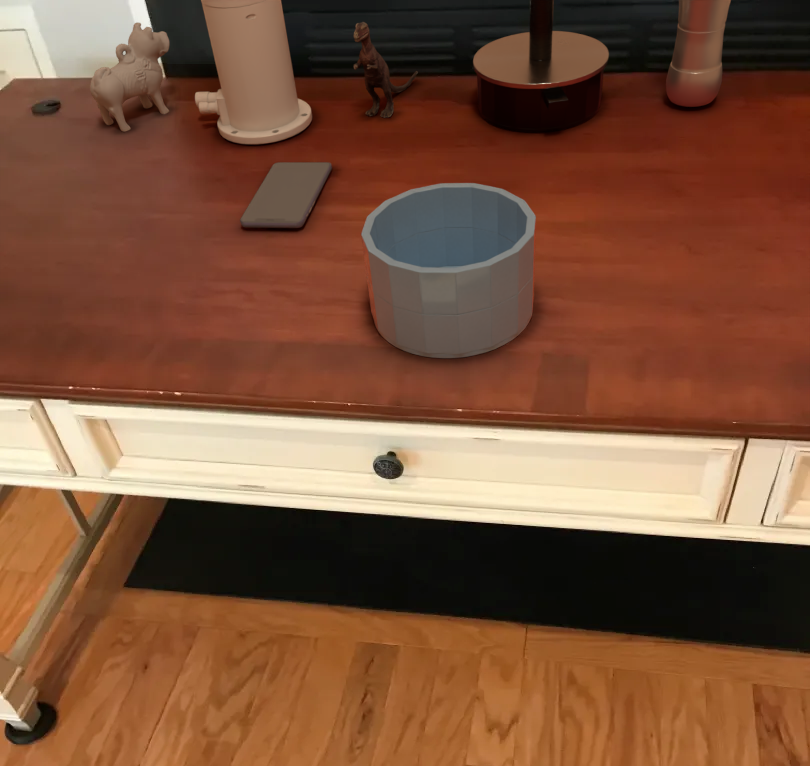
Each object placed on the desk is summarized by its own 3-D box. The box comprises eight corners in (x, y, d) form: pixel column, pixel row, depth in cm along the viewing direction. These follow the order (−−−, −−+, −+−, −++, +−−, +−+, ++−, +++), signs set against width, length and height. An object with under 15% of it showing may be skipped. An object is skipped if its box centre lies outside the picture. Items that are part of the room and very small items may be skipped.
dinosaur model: (345, 25, 109) (396, -10, 118) (351, 124, 117) (397, 85, 127) (375, 28, 108) (424, -7, 117) (378, 129, 116) (424, 88, 126)
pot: (360, 356, 84) (347, 271, 77) (387, 265, 94) (378, 183, 88) (528, 360, 82) (529, 273, 75) (537, 266, 92) (539, 182, 85)
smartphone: (333, 161, 109) (301, 222, 99) (334, 168, 110) (303, 231, 100) (274, 161, 111) (236, 222, 101) (275, 168, 111) (238, 230, 102)
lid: (485, 102, 107) (484, 27, 101) (463, 50, 119) (461, -20, 113) (624, 83, 108) (631, 8, 102) (589, 33, 119) (593, -38, 113)
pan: (494, 149, 110) (493, 103, 106) (467, 82, 124) (465, 39, 120) (620, 132, 110) (624, 86, 106) (578, 67, 124) (581, 23, 120)
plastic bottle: (718, 113, 111) (751, -76, 96) (662, 113, 112) (685, -74, 98) (717, 91, 115) (748, -94, 100) (663, 91, 116) (685, -91, 102)
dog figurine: (192, 102, 127) (172, 19, 119) (118, 136, 122) (92, 51, 114) (169, 93, 130) (148, 12, 122) (96, 126, 124) (69, 43, 116)
